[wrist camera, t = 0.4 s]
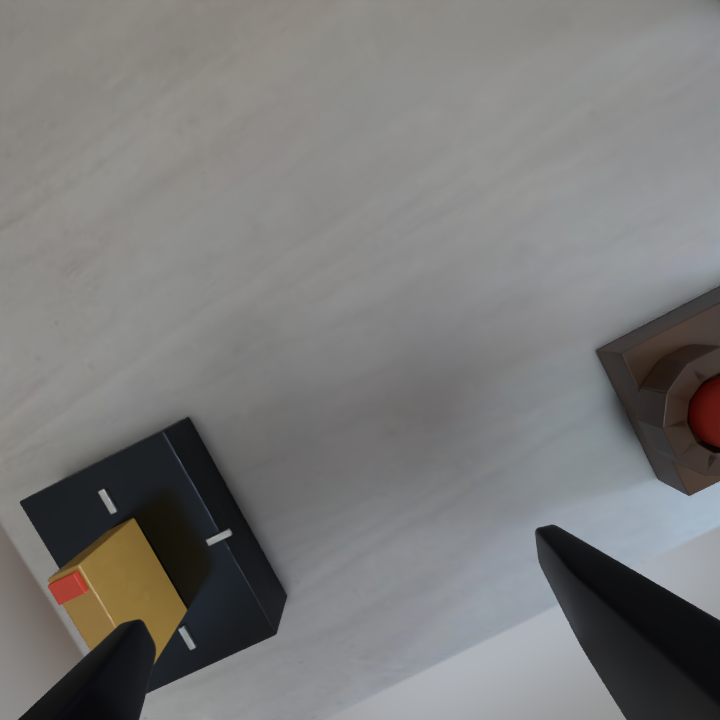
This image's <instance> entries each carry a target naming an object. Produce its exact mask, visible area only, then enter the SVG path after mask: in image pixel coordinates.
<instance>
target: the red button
mask: <svg viewBox="0 0 720 720" xmlns="http://www.w3.org/2000/svg"><path fill="white" fill-rule="evenodd" d="M688 418H689V423H690V426H691V428H692V430H693V432H694V433H695V434H696V435H697V436H698V437H699V438H700V439H701V440H702V441H704V442H706V443H707V444H710V445H713V446H716V447H718V448H720V377H717V378H714V379H711V380H709V381H708V382H706V383H705V384H703V385H702V386H701V387H700V388H699V389H698V390H697V391H696V392H695V394H694V396H693V397H692V399H691V402H690V405H689V410H688Z"/></svg>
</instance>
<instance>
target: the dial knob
mask: <svg viewBox="0 0 720 720" xmlns="http://www.w3.org/2000/svg"><path fill="white" fill-rule="evenodd" d="M48 581H49V583H50V584H49V585H48V588H49V589H50V591H51V593H52V594H53V596H54V597H55V599H56V601H57V602H58V604H59V605H61V604H63V606H64V608H65V609H66V611H67V613H68V614H69V616H70V618H71V619H72V621H73V622H74V624H75V626H76V627H77V629H78V631H79V632H80V634H81V636H82V637H83V639H84V641H85V642H86V644H87V645H88V647H89V649H90V650H91V651H92V650H93V649H94V648H95V647H96V646H97V645H98V644H99V643H100V642H101V641H102V640H103V639H104V638H106V637H107V636H108V635H109V634H110V633H111V632H112V631H113V630H114V629H115V628H116V627H117V626H118V625H120V624H121V623H123V622H127V621H131V620H136V619H141V620H142V621H144V623H145V625H146V627H147V629H148V630H149V632H150V634H151V636H152V638H153V640H154V642H155V645H156V657H155V662H156V661H157V659H158V657H159V656H160V654H161V652H162V651H163V649H164V648H165V646H166V644H167V643H168V641H169V639H170V638H171V636H172V635H173V633H174V631H175V630H176V628H177V626H178V625H179V623H180V622H181V620H182V618H183V617H184V615H185V613H186V612H187V609H186V607H185V605H184V603H183V602H182V600H181V598H180V596H179V595H178V593H177V591H176V590H175V588H174V586H173V584H172V583H171V581H170V579H169V577H168V576H167V574H166V572H165V570H164V569H163V567H162V565H161V564H160V562H159V560H158V558H157V557H156V555H155V553H154V551H153V550H152V548H151V546H150V544H149V543H148V541H147V539H146V538H145V536H144V534H143V532H142V531H141V529H140V527H139V525H138V524H137V522H136V520H135V519H134V518H132V519H130V520H128V521H126V522H124V523H122V524H119V525H117V526H115V527H113V528H111V529H109V530H108V531H107V532H105V533H104V534H103V535H102V536H100V537H99V538H98V539H97V540H96V541H94V542H93V543H92V544H91V545H89V546H88V547H87V548H86V549H84V550H83V551H82V552H81V553H79V554H78V555H77V556H76V557H75V558H73V559H72V560H71V561H70V562H68V563H67V564H66V565H65V566H63V567H62V568H61V569H60V570H58V571H57V572H56V573H55V574H54V575H52V576H51V577H50V578H49V579H48ZM155 662H154V664H155Z"/></svg>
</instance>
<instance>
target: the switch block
mask: <svg viewBox="0 0 720 720" xmlns="http://www.w3.org/2000/svg"><path fill="white" fill-rule="evenodd" d="M596 352H597V354H598V356H599V358H600V360H601V362H602V364H603V366H604V368H605V370H606V372H607V374H608V376H609V379H610V381H611V383H612V385H613V387H614V389H615V391H616V393H617V395H618V397H619V399H620V401H621V403H622V405H623V407H624V410H625V412H626V414H627V416H628V418H629V420H630V422H631V424H632V426H633V428H634V430H635V432H636V434H637V436H638V438H639V441H640V443H641V445H642V447H643V449H644V451H645V453H646V455H647V457H648V459H649V461H650V463H651V465H652V467H653V469H654V471H655V474H656V476H657V478H658V480H660V481H662V482H664V483H665V484H667V485H669V486H671V487H673V488H675V489H677V490H679V491H680V492H682V493H684V494H686V495H688V496H690V495H692V494H694V493H696V492H698V491H700V490H703V489H705V488H707V487H709V486H711V485H713V484H715V483H717V482H719V481H720V448H718V447H716V446H713V445H710V444H707V443H706V442H704V441H702V440H701V439H700V438H699V437H698V436H697V435H696V434H695V433H694V432H693V430H692V428H691V426H690V423H689V418H688V410H689V405H690V402H691V399H692V397H693V396H694V394H695V392H696V391H697V390H698V389H699V388H700V387H701V386H702V385H703V384H705V383H706V382H708V381H709V380H711V379H714V378H717V377H720V287H718V288H716V289H714V290H712V291H710V292H708V293H706V294H704V295H702V296H700V297H698V298H696V299H694V300H693V301H691V302H689V303H687V304H685V305H683V306H681V307H679V308H677V309H675V310H673V311H671V312H669V313H667V314H665V315H664V316H662V317H660V318H658V319H656V320H654V321H652V322H650V323H648V324H646V325H644V326H642V327H640V328H638V329H637V330H635V331H633V332H631V333H629V334H627V335H625V336H623V337H621V338H619V339H617V340H615V341H613V342H611V343H610V344H608V345H606V346H604V347H602V348H600V349H598V350H597V351H596Z"/></svg>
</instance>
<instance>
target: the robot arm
mask: <svg viewBox="0 0 720 720" xmlns="http://www.w3.org/2000/svg"><path fill="white" fill-rule="evenodd" d="M535 537H536V545H537V553H538V559H539V563H540V566H541V568H542V570H543V572H544V574H545V576H546V578H547V580H548V582H549V584H550V586H551V588H552V590H553V592H554V594H555V596H556V598H557V600H558V602H559V604H560V606H561V608H562V610H563V612H564V614H565V616H566V618H567V620H568V621H569V624H570V626H571V628H572V630H573V632H574V634H575V635H576V637H577V639H578V641H579V643H580V645H581V647H582V648H583V650H584V652H585V653H586V655H587V657H588V659H589V660H590V662H591V663H592V665H593V667H594V668H595V670H596V671H597V673H598V675H599V676H600V678H601V679H602V681H603V683H604V684H605V686H606V687H607V689H608V691H609V692H610V694H611V696H612V697H613V699H614V700H615V702H616V704H617V705H618V707H619V708H620V710H621V712H622V713H623V715H624V716H625V718H626V719H627V720H720V620H718V619H717V618H715V617H713V616H711V615H710V614H708V613H706V612H704V611H703V610H701V609H699V608H697V607H696V606H694V605H692V604H691V603H689V602H687V601H685V600H684V599H682V598H680V597H678V596H677V595H675V594H673V593H671V592H670V591H668V590H667V589H665V588H663V587H661V586H660V585H658V584H656V583H655V582H653V581H651V580H649V579H648V578H646V577H644V576H642V575H641V574H639V573H637V572H636V571H634V570H632V569H630V568H629V567H627V566H625V565H623V564H622V563H620V562H618V561H617V560H615V559H613V558H611V557H610V556H608V555H606V554H604V553H603V552H601V551H599V550H598V549H596V548H594V547H592V546H591V545H589V544H587V543H586V542H584V541H582V540H580V539H579V538H577V537H575V536H573V535H572V534H570V533H568V532H567V531H565V530H563V529H561V528H560V527H558V526H556V525H548V526H543V527H539V528H537V529H536V531H535ZM155 657H156V645H155V642H154V640H153V638H152V636H151V634H150V632H149V630H148V629H147V627H146V625H145V623H144V621H142V620H141V619H136V620H131V621H127V622H123V623H121V624H120V625H118V626H117V627H116V628H115V629H114V630H113V631H112V632H111V633H110V634H109V635H108V636H107V637H106V638H104V639H103V640H102V641H101V642H100V643H99V644H98V645H97V646H96V647H95V648H94V649H93V650H92V651H91V652H90V653H89V654H87V655H86V656H85V657H84V658H83V659H82V660H81V661H80V662H79V663H78V664H77V665H76V666H75V667H74V668H73V669H72V670H71V671H70V672H68V673H67V674H66V675H65V676H64V677H63V678H62V679H61V680H60V681H59V682H58V683H57V684H56V685H54V686H53V687H52V688H51V689H50V690H49V691H48V692H47V693H46V694H45V695H44V696H43V697H42V698H41V699H40V700H38V701H37V702H36V703H35V704H34V705H33V706H32V707H31V708H30V709H29V710H28V711H27V712H26V713H25V714H24V715H22V716H21V717H20V718H19V719H18V720H139V718H140V714H141V711H142V707H143V703H144V699H145V695H146V692H147V688H148V684H149V680H150V677H151V673H152V669H153V665H154V662H155Z"/></svg>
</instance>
